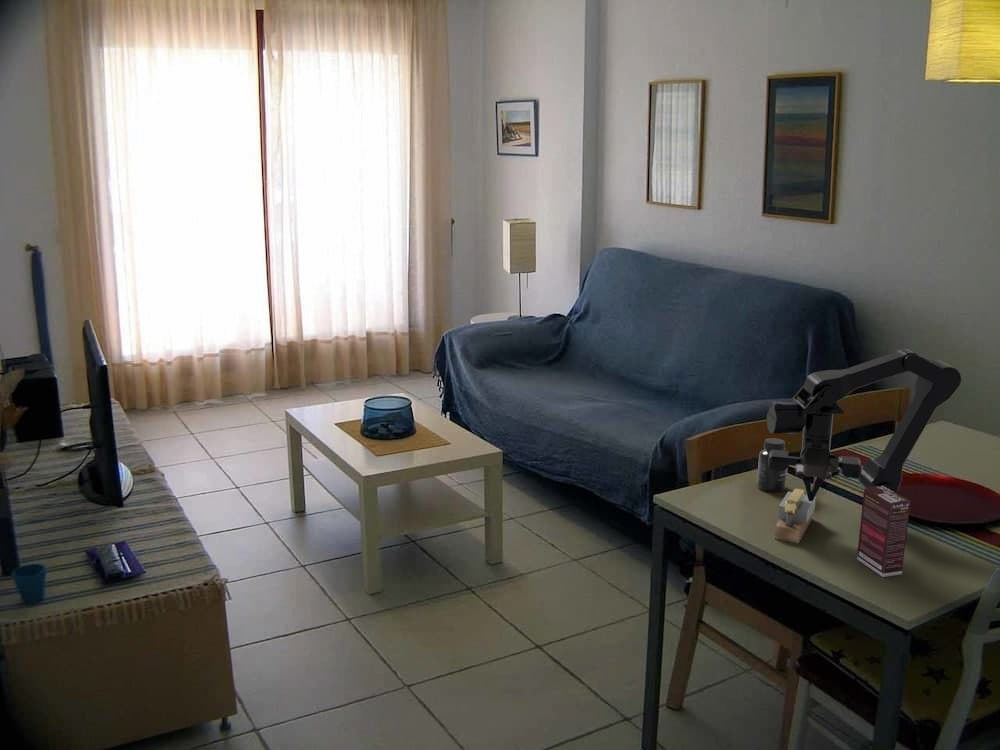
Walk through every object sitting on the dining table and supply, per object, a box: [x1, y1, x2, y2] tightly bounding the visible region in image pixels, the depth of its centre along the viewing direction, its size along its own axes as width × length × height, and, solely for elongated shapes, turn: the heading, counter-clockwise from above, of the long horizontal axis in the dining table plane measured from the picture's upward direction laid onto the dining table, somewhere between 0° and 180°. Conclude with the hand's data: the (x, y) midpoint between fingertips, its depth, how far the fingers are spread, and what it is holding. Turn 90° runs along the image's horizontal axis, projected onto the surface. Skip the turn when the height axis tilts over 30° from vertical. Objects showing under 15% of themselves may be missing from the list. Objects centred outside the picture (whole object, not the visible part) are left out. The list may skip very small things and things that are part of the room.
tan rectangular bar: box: [785, 488, 805, 513], centre depth 207 cm, size 2×9×2 cm, turn 151°
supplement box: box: [856, 486, 912, 578], centre depth 192 cm, size 9×5×16 cm, turn 17°
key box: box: [774, 513, 814, 544], centre depth 210 cm, size 5×14×6 cm, turn 151°
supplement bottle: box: [756, 437, 788, 493], centre depth 232 cm, size 7×7×12 cm
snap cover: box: [777, 491, 817, 524], centre depth 211 cm, size 6×9×3 cm, turn 151°
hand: (810, 500), depth 208 cm, fingers closed
